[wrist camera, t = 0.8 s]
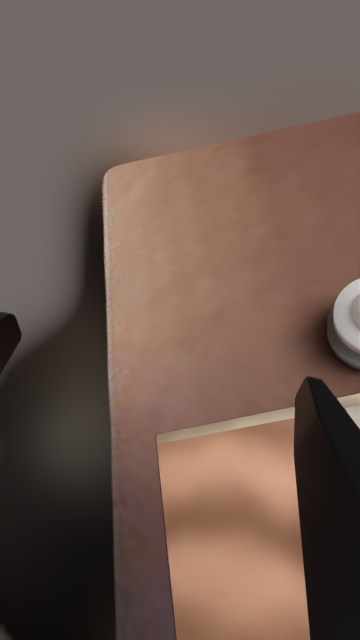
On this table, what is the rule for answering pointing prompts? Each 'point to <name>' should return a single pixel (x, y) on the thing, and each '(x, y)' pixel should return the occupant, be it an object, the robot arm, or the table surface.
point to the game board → (238, 523)
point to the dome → (348, 316)
